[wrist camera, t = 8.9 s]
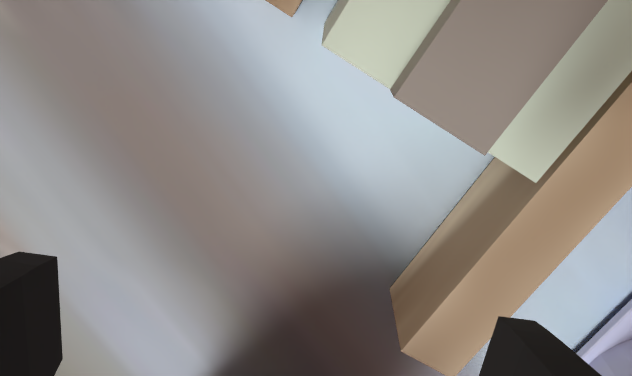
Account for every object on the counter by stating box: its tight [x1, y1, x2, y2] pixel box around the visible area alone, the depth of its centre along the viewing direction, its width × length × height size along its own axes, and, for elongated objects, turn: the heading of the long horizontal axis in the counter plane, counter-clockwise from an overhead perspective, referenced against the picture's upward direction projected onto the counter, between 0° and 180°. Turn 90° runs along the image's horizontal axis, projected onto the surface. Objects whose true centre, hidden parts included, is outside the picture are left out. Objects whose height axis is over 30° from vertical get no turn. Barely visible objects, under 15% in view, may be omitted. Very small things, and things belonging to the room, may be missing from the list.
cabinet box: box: [322, 0, 632, 183], centre depth 13 cm, size 6×4×6 cm
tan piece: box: [266, 0, 632, 376], centre depth 15 cm, size 11×16×4 cm
